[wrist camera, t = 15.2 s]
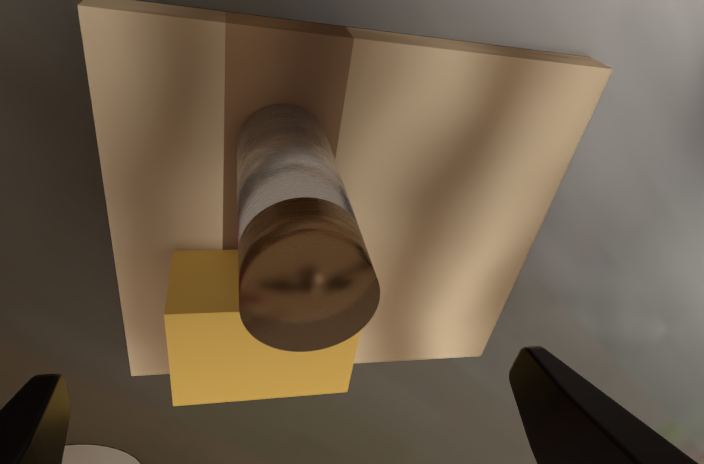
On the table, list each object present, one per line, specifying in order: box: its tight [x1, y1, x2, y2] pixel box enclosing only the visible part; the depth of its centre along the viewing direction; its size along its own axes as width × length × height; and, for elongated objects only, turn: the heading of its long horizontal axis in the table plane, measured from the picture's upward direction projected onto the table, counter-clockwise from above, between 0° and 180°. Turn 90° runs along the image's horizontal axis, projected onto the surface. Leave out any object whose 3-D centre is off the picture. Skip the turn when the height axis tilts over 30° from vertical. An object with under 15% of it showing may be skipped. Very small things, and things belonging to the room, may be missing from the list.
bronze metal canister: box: [237, 103, 380, 352], centre depth 14 cm, size 3×3×8 cm
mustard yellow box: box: [164, 250, 361, 406], centre depth 20 cm, size 7×5×4 cm
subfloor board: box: [77, 0, 613, 376], centre depth 21 cm, size 18×16×2 cm
